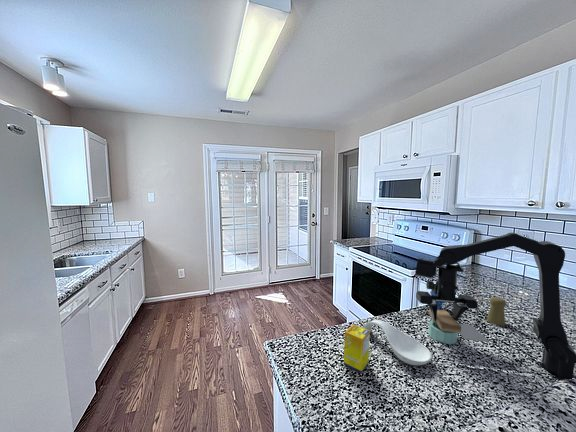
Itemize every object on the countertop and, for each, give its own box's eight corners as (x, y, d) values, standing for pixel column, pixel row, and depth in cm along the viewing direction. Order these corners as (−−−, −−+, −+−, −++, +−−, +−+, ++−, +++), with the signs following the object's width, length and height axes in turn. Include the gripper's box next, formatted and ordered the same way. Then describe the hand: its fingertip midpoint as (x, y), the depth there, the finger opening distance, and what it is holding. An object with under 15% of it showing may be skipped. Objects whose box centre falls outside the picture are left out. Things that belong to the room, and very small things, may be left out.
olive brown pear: (509, 328, 99) (511, 302, 98) (492, 326, 100) (494, 300, 99) (499, 320, 105) (501, 296, 104) (483, 319, 106) (485, 294, 105)
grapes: (440, 318, 106) (442, 291, 105) (424, 311, 111) (426, 286, 110) (451, 311, 113) (453, 286, 112) (435, 305, 118) (437, 281, 117)
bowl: (461, 346, 86) (462, 334, 85) (433, 343, 87) (434, 331, 87) (450, 332, 94) (451, 321, 94) (425, 329, 96) (425, 319, 96)
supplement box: (351, 355, 80) (352, 323, 79) (368, 363, 76) (370, 330, 75) (342, 364, 76) (344, 331, 75) (361, 374, 72) (363, 339, 71)
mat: (489, 343, 88) (489, 342, 88) (464, 340, 90) (464, 339, 89) (471, 326, 100) (471, 324, 100) (449, 323, 101) (450, 322, 101)
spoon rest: (437, 363, 77) (439, 341, 77) (418, 378, 71) (420, 354, 70) (374, 328, 97) (375, 311, 96) (354, 337, 90) (355, 319, 90)
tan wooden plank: (460, 332, 84) (461, 326, 84) (441, 330, 85) (442, 324, 85) (445, 315, 96) (445, 310, 96) (428, 314, 97) (429, 308, 97)
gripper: (464, 275, 95) (461, 314, 96) (412, 272, 99) (410, 309, 100) (480, 286, 84) (476, 329, 86) (422, 281, 88) (419, 322, 89)
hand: (443, 321), depth 90 cm, fingers closed on tan wooden plank, 6 cm apart
